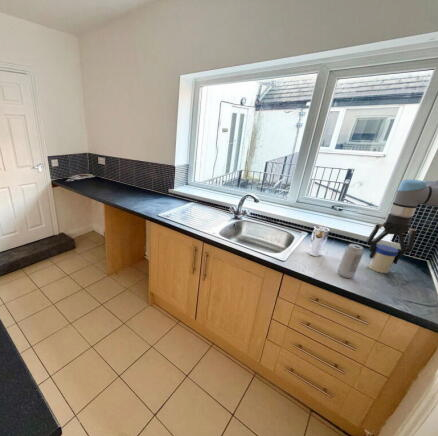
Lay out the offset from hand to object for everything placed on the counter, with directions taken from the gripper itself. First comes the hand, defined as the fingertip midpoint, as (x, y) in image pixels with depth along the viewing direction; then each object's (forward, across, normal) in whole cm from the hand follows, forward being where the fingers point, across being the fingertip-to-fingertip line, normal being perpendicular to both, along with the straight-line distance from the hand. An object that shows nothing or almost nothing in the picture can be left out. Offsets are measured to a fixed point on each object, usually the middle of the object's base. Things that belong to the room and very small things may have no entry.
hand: (382, 259), depth 115 cm
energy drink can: (+5, +14, +16) cm, 22 cm away
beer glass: (+5, +26, 0) cm, 27 cm away
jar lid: (-6, 0, 0) cm, 6 cm away
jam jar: (+5, 0, 0) cm, 5 cm away
